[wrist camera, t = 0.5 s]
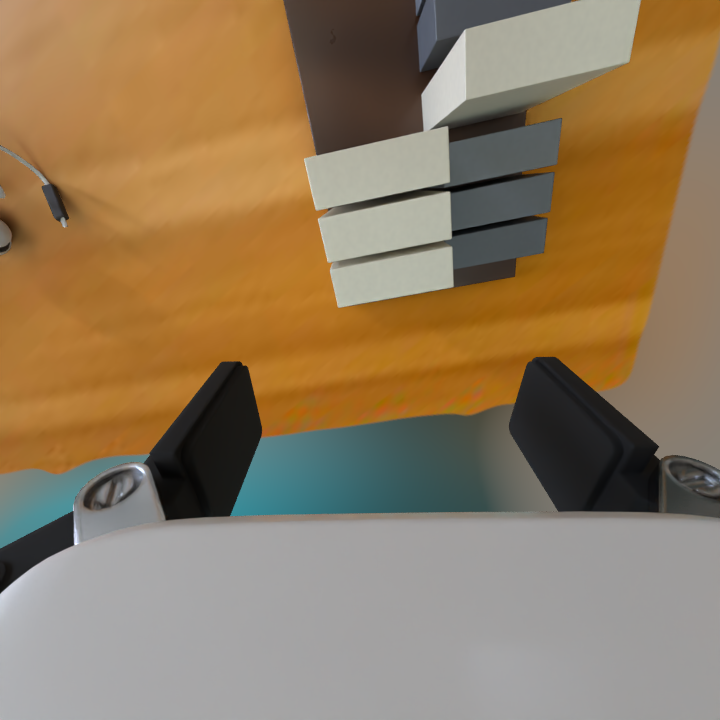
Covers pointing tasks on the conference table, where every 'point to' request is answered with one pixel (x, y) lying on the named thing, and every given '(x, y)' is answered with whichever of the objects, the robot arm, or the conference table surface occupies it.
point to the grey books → (491, 150)
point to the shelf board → (374, 86)
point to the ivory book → (528, 60)
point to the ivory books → (385, 216)
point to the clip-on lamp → (1, 231)
